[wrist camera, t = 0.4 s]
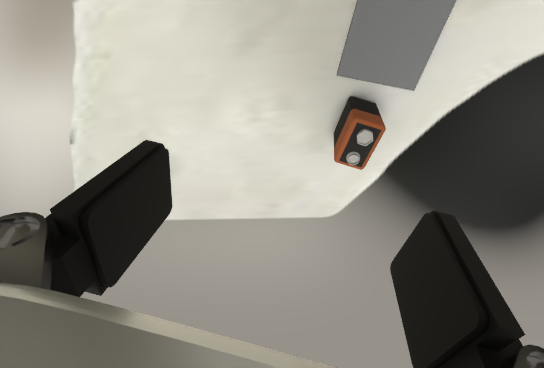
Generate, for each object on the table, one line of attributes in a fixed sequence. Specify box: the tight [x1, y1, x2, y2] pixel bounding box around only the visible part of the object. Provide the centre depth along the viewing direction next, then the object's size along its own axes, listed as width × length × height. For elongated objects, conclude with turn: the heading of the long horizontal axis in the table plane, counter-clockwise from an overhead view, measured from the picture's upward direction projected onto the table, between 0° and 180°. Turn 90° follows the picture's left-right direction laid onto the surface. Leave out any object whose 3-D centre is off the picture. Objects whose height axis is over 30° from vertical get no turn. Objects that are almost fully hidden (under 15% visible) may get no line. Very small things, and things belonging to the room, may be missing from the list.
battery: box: [334, 96, 385, 170], centre depth 37 cm, size 4×7×10 cm, turn 166°
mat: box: [337, 0, 456, 91], centre depth 34 cm, size 13×11×1 cm
